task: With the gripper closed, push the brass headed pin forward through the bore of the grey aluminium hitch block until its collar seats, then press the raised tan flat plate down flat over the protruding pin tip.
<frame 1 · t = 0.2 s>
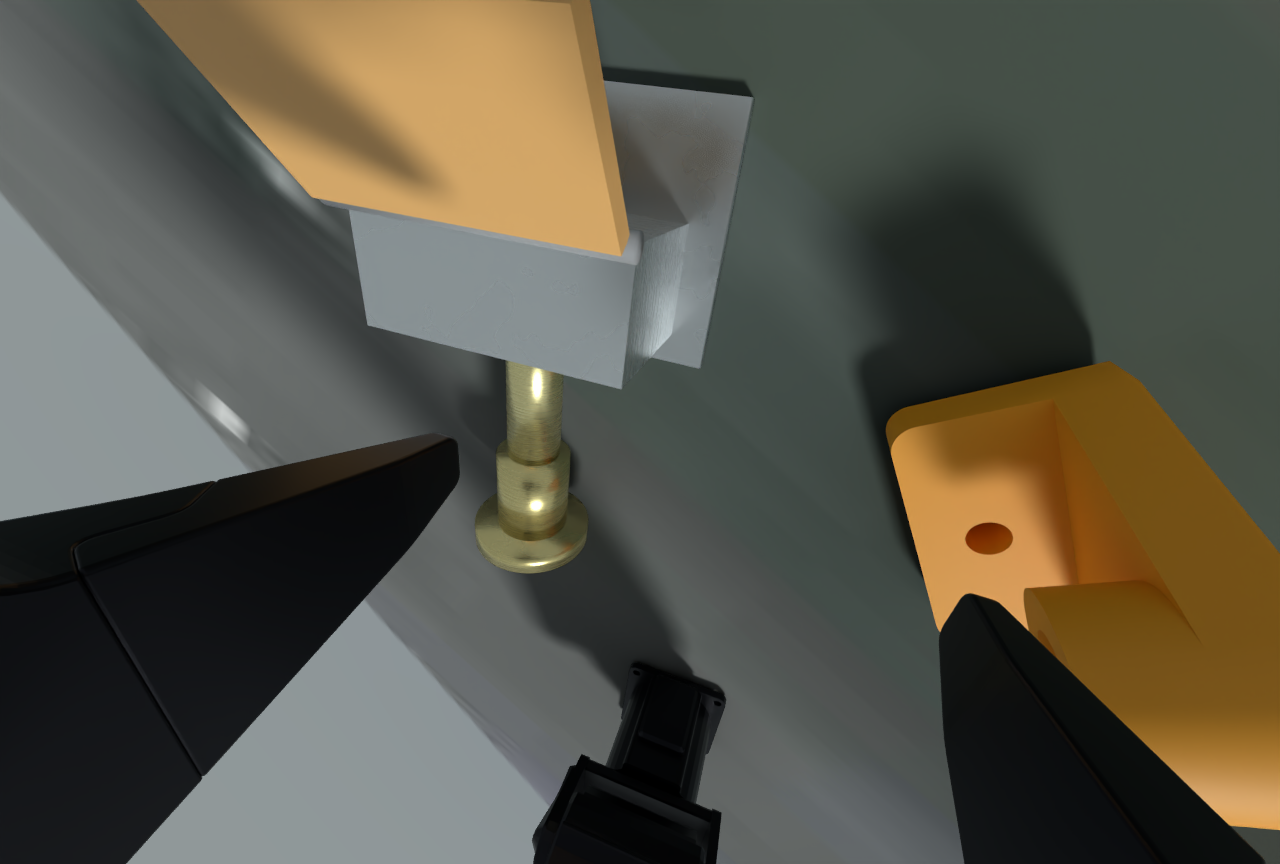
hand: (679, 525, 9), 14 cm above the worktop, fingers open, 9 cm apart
pin: (534, 419, 22), point 3 cm above the worktop, slide at 0.0 cm
hitch block: (574, 258, 22), on the worktop
tan flat plate: (420, 131, 12), point 9 cm above the worktop, hinge at 40.0°
bracket: (999, 492, 21), on the worktop
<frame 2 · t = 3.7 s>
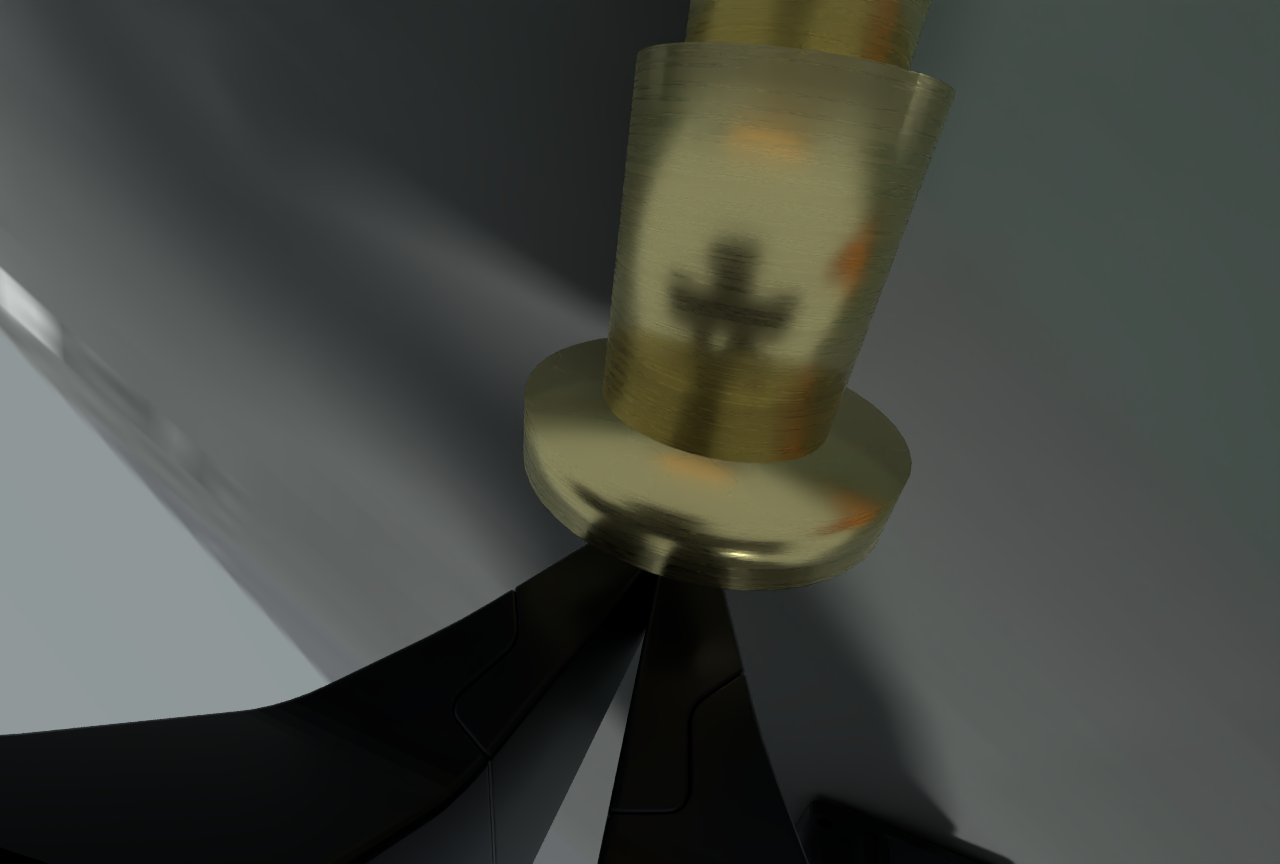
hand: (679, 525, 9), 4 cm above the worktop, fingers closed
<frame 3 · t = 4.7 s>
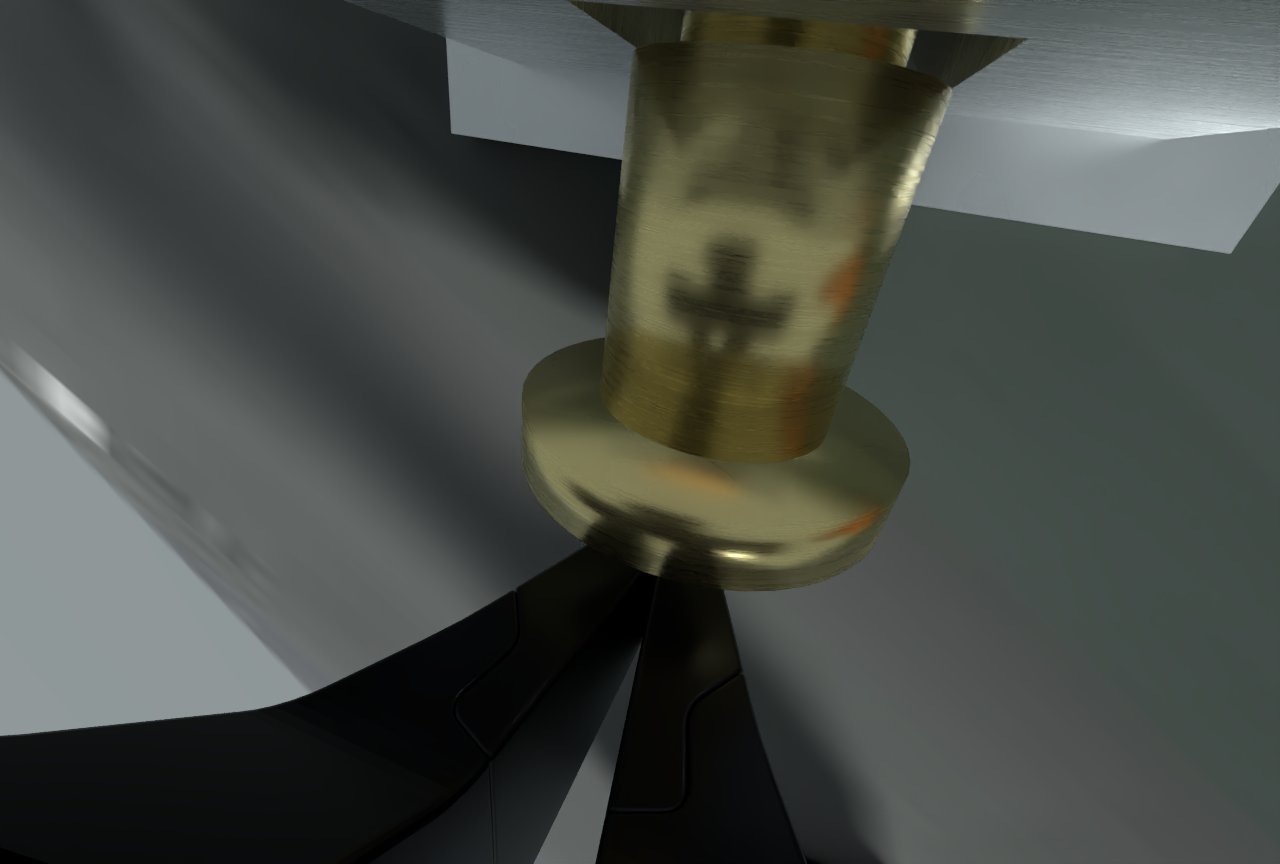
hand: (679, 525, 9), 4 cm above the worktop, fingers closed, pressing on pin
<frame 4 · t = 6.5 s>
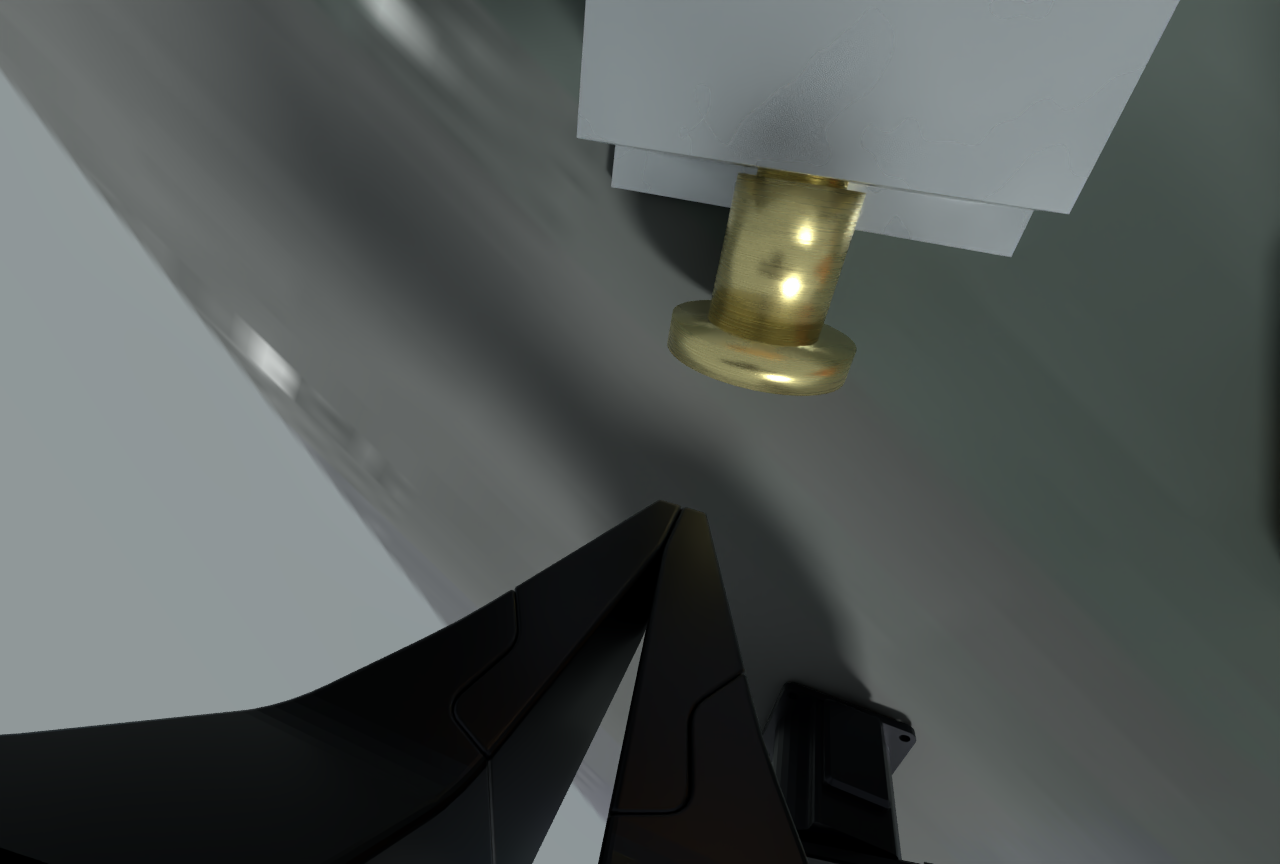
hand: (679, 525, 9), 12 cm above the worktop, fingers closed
pin: (821, 105, 12), point 4 cm above the worktop, slide at 5.8 cm
hitch block: (828, 94, 15), on the worktop
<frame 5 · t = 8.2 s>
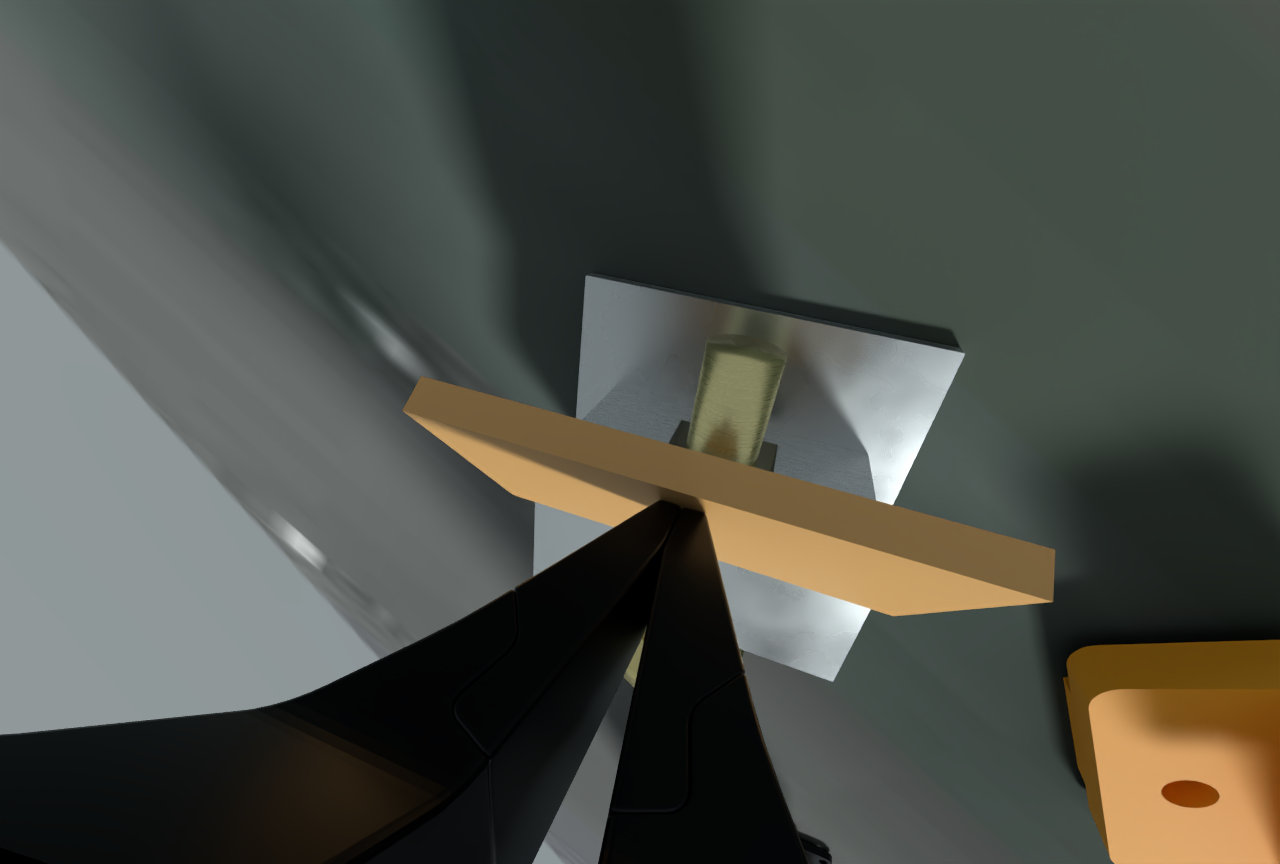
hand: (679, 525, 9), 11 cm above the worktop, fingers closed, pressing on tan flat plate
pin: (703, 522, 18), point 4 cm above the worktop, slide at 5.8 cm
hitch block: (723, 460, 21), on the worktop
tan flat plate: (693, 507, 11), point 9 cm above the worktop, hinge at 40.0°, touching gripper
bracket: (1180, 720, 20), on the worktop
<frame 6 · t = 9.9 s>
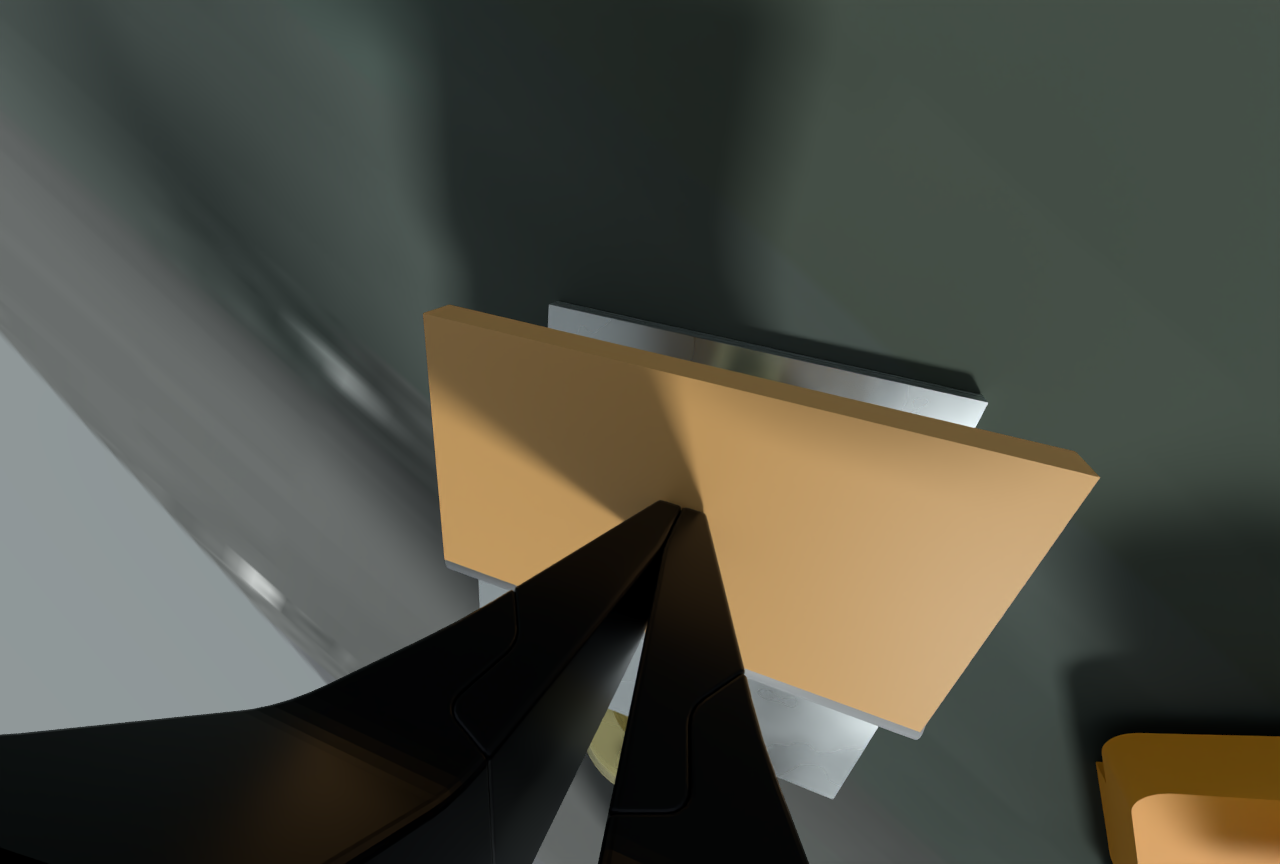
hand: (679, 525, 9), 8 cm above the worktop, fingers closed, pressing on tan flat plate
pin: (683, 590, 16), point 3 cm above the worktop, slide at 5.8 cm
hitch block: (708, 511, 18), on the worktop
tan flat plate: (683, 529, 9), point 8 cm above the worktop, hinge at 0.1°, touching gripper
bracket: (1232, 813, 17), on the worktop
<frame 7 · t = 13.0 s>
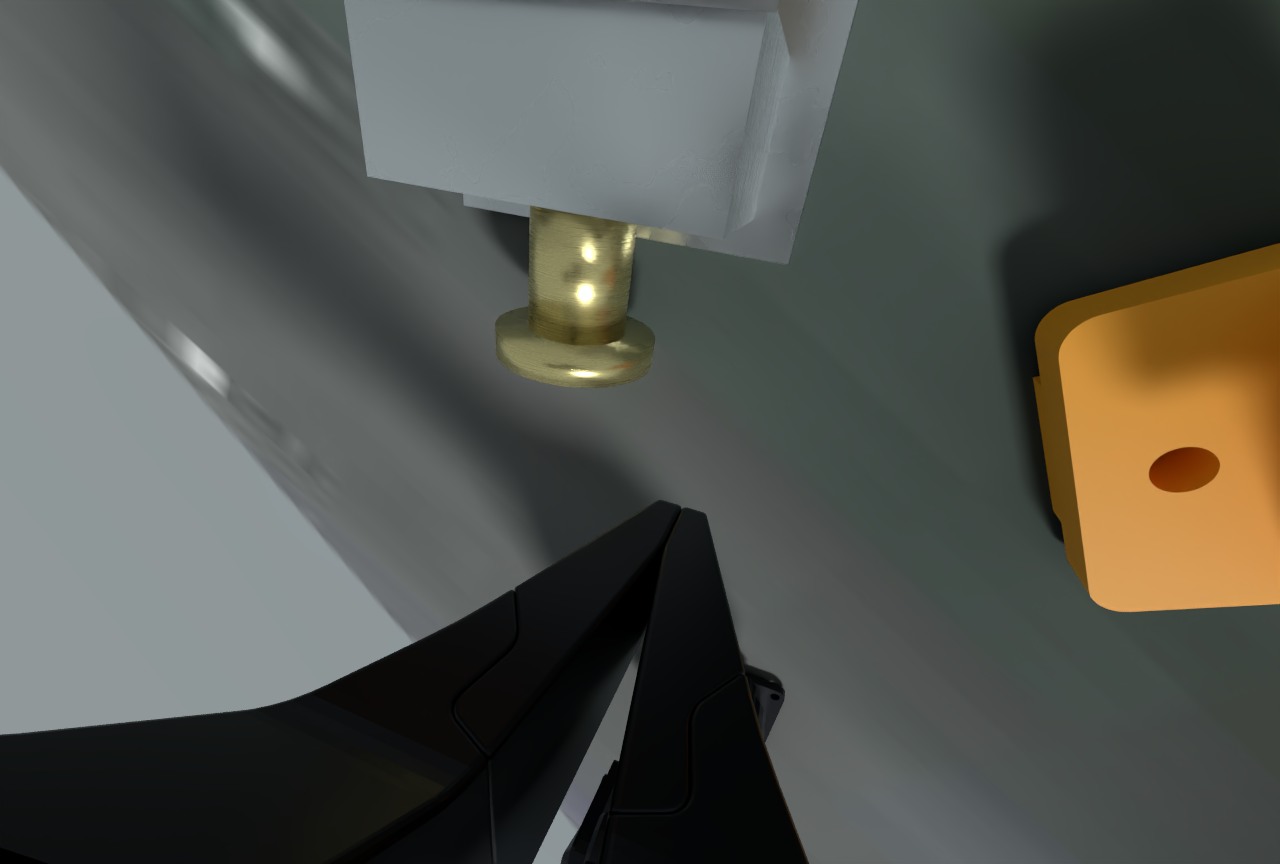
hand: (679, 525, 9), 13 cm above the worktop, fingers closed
pin: (589, 142, 15), point 3 cm above the worktop, slide at 5.8 cm
hitch block: (629, 125, 17), on the worktop
bracket: (1173, 420, 16), on the worktop
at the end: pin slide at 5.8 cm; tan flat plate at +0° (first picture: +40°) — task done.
